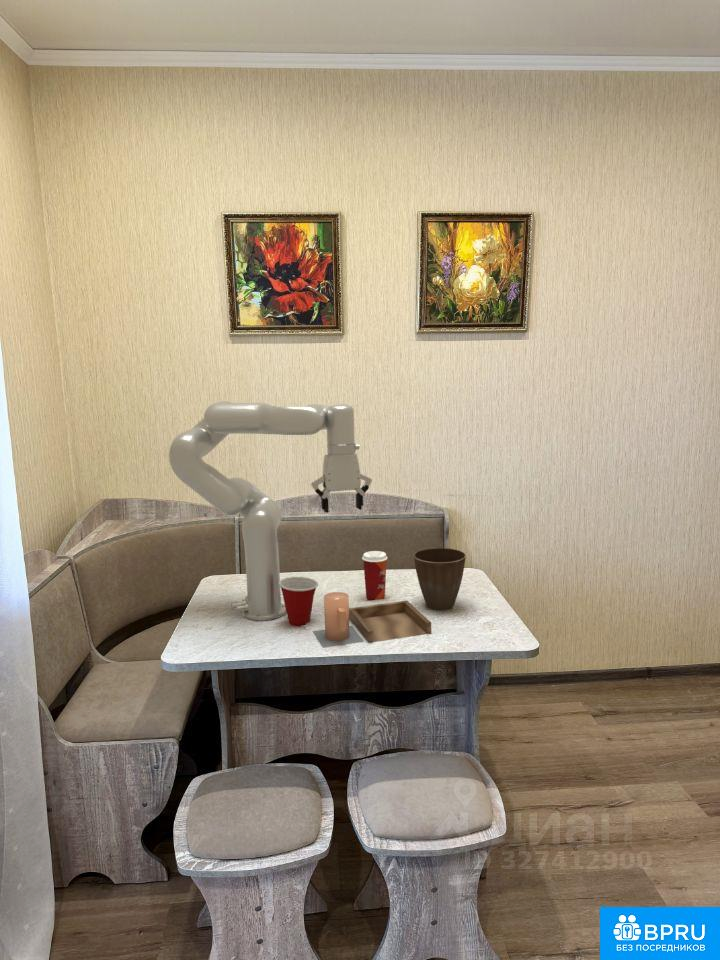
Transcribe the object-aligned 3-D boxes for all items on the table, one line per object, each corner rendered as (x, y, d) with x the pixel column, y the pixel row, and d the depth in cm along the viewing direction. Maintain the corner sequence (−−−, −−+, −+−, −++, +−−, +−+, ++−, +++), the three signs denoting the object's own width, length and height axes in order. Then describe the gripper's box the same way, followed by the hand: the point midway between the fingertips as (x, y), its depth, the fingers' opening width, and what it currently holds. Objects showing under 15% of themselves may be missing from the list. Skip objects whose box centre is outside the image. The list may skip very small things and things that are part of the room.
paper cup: (388, 602, 204) (387, 557, 202) (362, 602, 204) (361, 557, 202) (387, 593, 212) (387, 550, 209) (363, 593, 212) (362, 550, 209)
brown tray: (368, 644, 174) (368, 631, 174) (349, 620, 191) (348, 608, 190) (431, 635, 180) (431, 622, 179) (407, 612, 196) (407, 600, 195)
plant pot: (408, 614, 194) (408, 560, 192) (419, 596, 208) (419, 546, 206) (461, 619, 190) (461, 564, 187) (468, 600, 204) (469, 549, 201)
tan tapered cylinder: (322, 633, 181) (321, 593, 179) (345, 629, 183) (344, 590, 181) (331, 647, 172) (330, 605, 170) (355, 643, 174) (354, 602, 172)
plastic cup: (316, 630, 184) (315, 588, 182) (277, 630, 185) (275, 588, 183) (321, 615, 195) (320, 575, 193) (284, 615, 196) (282, 575, 194)
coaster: (322, 649, 172) (322, 647, 172) (312, 633, 182) (312, 631, 182) (364, 643, 175) (364, 641, 175) (351, 627, 186) (351, 625, 186)
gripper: (366, 446, 194) (367, 504, 198) (307, 450, 189) (309, 510, 192) (375, 449, 187) (376, 510, 190) (313, 453, 182) (315, 515, 185)
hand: (342, 510), depth 191 cm, fingers open, 9 cm apart
